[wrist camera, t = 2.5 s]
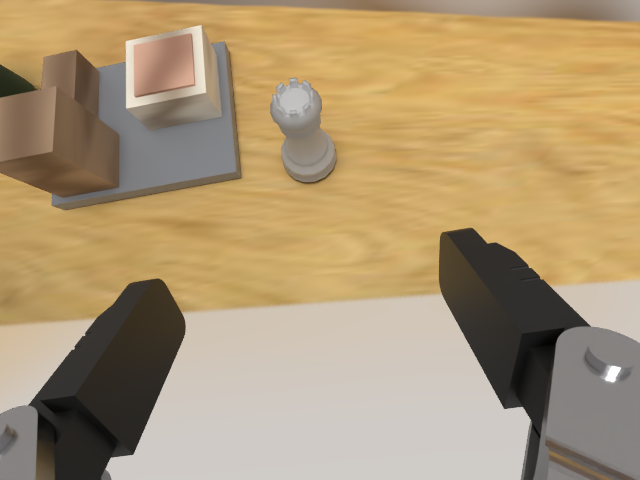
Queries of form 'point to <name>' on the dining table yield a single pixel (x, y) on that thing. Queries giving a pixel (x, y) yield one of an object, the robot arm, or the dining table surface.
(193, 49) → the white square block
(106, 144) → the walnut castle blocks
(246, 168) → the dining table surface
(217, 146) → the baseplate
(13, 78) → the character mug
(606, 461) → the robot arm
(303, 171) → the rook chess piece
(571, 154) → the dining table surface
